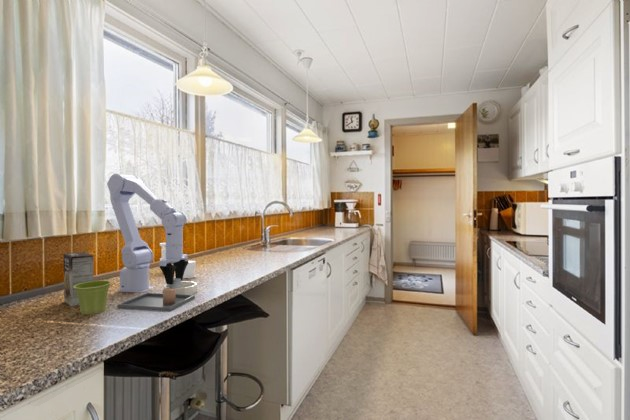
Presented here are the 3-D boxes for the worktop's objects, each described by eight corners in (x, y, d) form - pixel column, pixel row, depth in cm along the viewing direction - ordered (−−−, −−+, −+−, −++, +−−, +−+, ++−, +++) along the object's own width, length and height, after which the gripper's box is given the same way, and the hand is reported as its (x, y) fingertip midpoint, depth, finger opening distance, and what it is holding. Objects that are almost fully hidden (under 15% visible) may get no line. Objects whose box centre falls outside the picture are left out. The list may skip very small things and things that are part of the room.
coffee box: (63, 301, 112) (62, 253, 112) (85, 297, 117) (85, 251, 116) (71, 307, 106) (70, 256, 106) (94, 303, 111) (93, 254, 110)
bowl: (157, 296, 118) (157, 287, 118) (175, 288, 129) (175, 280, 129) (186, 298, 116) (186, 289, 116) (202, 290, 127) (202, 281, 127)
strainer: (179, 271, 161) (179, 240, 161) (167, 274, 155) (166, 241, 155) (168, 270, 164) (168, 239, 164) (156, 272, 158) (156, 241, 158)
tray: (117, 309, 104) (117, 304, 104) (147, 296, 118) (147, 292, 118) (170, 312, 101) (170, 307, 101) (194, 299, 115) (194, 295, 115)
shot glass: (190, 279, 145) (190, 263, 145) (176, 278, 147) (176, 262, 146) (199, 275, 152) (198, 260, 152) (185, 275, 153) (185, 259, 153)
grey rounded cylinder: (166, 292, 121) (167, 279, 121) (172, 289, 125) (173, 277, 125) (176, 293, 121) (177, 280, 121) (182, 290, 124) (182, 278, 124)
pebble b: (160, 304, 107) (160, 290, 107) (167, 301, 111) (167, 287, 111) (171, 305, 107) (171, 291, 107) (177, 301, 111) (177, 288, 110)
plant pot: (83, 320, 95) (82, 289, 95) (68, 314, 100) (67, 285, 100) (117, 311, 103) (117, 282, 103) (101, 305, 108) (101, 279, 108)
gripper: (172, 248, 115) (172, 287, 115) (194, 243, 129) (195, 278, 129) (153, 247, 116) (154, 286, 116) (178, 242, 130) (178, 277, 130)
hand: (174, 282), depth 123 cm, fingers open, 5 cm apart
